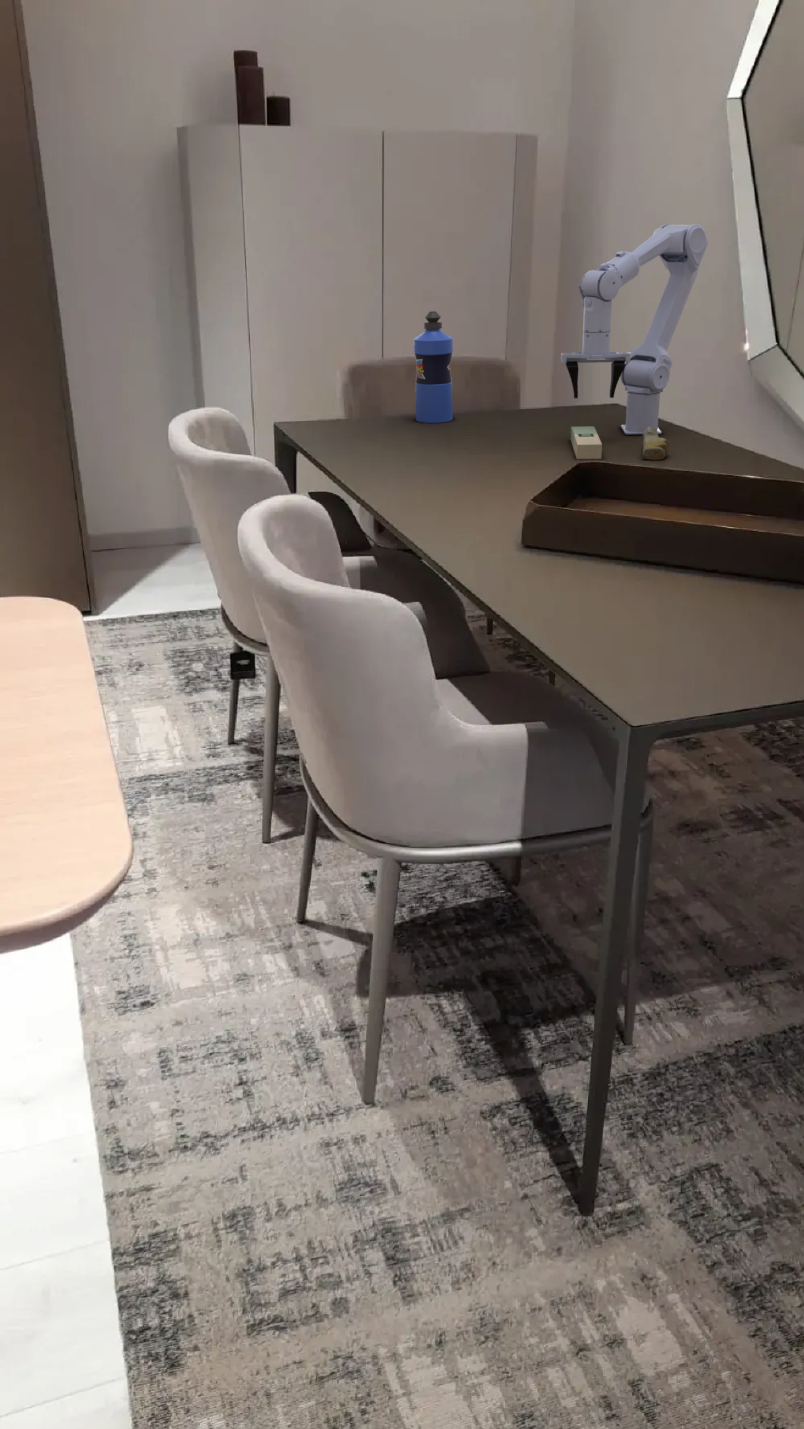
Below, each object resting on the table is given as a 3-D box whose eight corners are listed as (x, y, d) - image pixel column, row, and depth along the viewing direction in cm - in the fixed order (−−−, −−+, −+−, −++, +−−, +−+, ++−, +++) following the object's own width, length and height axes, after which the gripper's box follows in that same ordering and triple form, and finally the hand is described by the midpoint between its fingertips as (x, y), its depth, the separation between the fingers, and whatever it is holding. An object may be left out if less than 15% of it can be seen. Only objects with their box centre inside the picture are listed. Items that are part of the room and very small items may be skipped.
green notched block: (570, 440, 244) (571, 426, 242) (593, 440, 243) (594, 426, 242) (574, 450, 234) (574, 436, 233) (597, 450, 234) (598, 435, 233)
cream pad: (573, 448, 236) (573, 434, 235) (596, 447, 236) (597, 433, 235) (576, 459, 226) (577, 444, 225) (601, 459, 226) (602, 444, 225)
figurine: (675, 449, 222) (670, 424, 234) (651, 438, 221) (648, 413, 234) (662, 471, 225) (658, 445, 237) (638, 460, 224) (635, 435, 236)
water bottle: (420, 424, 266) (418, 314, 255) (411, 417, 274) (409, 311, 264) (457, 421, 268) (457, 312, 257) (447, 414, 276) (446, 309, 266)
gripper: (563, 334, 229) (560, 401, 235) (633, 332, 228) (629, 400, 234) (561, 330, 236) (559, 395, 242) (629, 329, 235) (625, 394, 240)
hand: (593, 397), depth 238 cm, fingers open, 7 cm apart
